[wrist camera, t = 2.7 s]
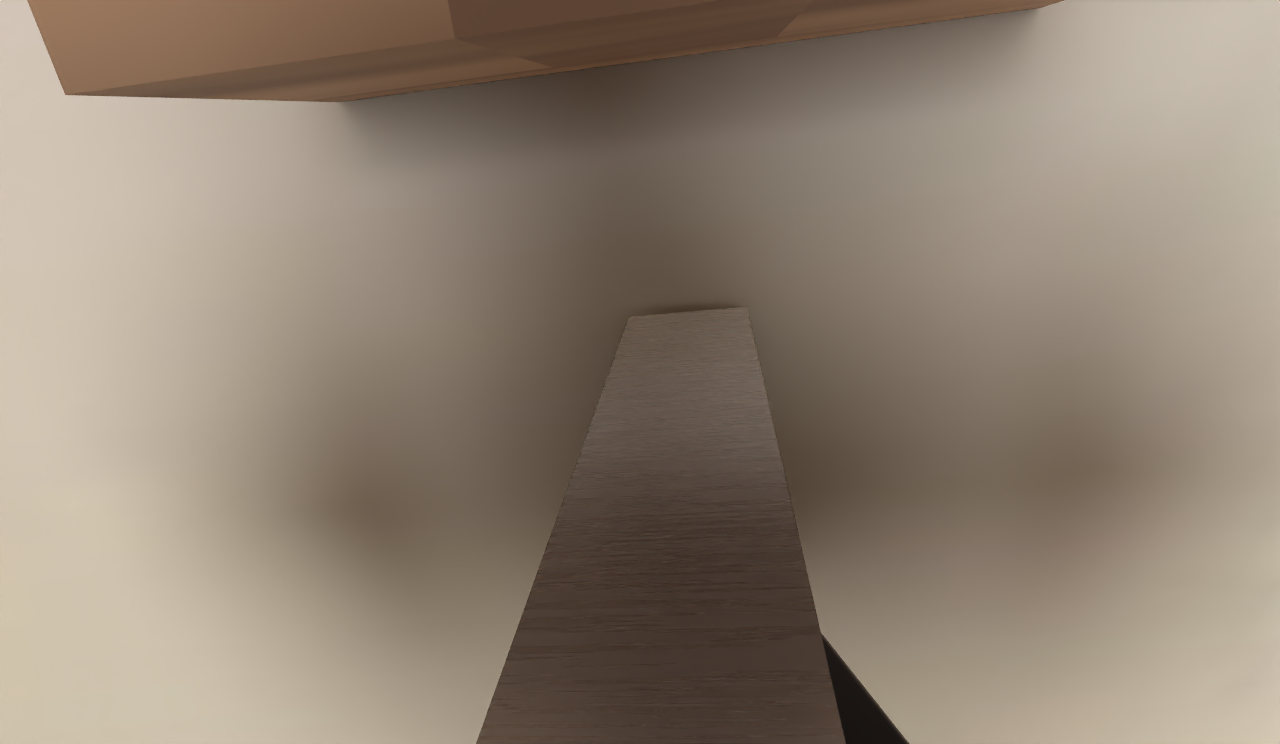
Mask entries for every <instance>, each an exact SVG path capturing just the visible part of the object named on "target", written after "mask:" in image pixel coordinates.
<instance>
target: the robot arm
mask: <svg viewBox="0 0 1280 744" xmlns="http://www.w3.org/2000/svg"><path fill="white" fill-rule="evenodd" d="M821 636H822V641H823V645H824V650H825V654H826V658H827V663H828V667H829V672H830V676H831V681H832V685H833V689H834V694H835V698H836V703H837V707H838V711H839V716H840V720H841V725H842V729H843V734H844V738H845V742H846V744H909V743H908V742H907V740H906V739H905V738H904V737H903V735H902V734H901V733H900V732H899V730H898V729H897V728H896V726H895V725H894V724H893V723H892V721H891V720H890V719H889V718H888V716H887V715H886V714H885V713H884V711H883V710H882V709H881V708H880V706H879V705H878V704H877V703H876V701H875V700H874V699H873V698H872V696H871V695H870V694H869V692H868V691H867V690H866V689H865V687H864V686H863V685H862V684H861V682H860V681H859V680H858V679H857V677H856V676H855V675H854V674H853V672H852V671H851V670H850V669H849V667H848V666H847V665H846V664H845V662H844V661H843V660H842V658H841V657H840V656H839V655H838V653H837V652H836V651H835V650H834V648H833V647H832V646H831V645H830V643H829V642H828V641H827V640H826V638H825V637H824V636H823V635H822V634H821Z"/></svg>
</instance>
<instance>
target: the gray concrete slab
mask: <svg viewBox="0 0 1280 744" xmlns="http://www.w3.org/2000/svg"><path fill="white" fill-rule="evenodd" d="M476 744H846V742H845V738H844V734H843V729H842V725H841V720H840V716H839V711H838V707H837V703H836V698H835V694H834V689H833V685H832V681H831V676H830V672H829V667H828V663H827V658H826V654H825V650H824V645H823V641H822V636H821V632H820V628H819V623H818V619H817V614H816V610H815V606H814V601H813V597H812V592H811V588H810V583H809V579H808V575H807V570H806V566H805V561H804V557H803V553H802V548H801V544H800V539H799V535H798V530H797V526H796V522H795V517H794V513H793V508H792V504H791V500H790V495H789V491H788V486H787V482H786V478H785V473H784V469H783V464H782V460H781V455H780V451H779V447H778V442H777V438H776V433H775V429H774V425H773V420H772V416H771V411H770V407H769V402H768V398H767V394H766V389H765V385H764V380H763V376H762V372H761V367H760V363H759V358H758V354H757V350H756V345H755V341H754V336H753V332H752V327H751V323H750V319H749V314H748V310H747V307H737V308H725V309H713V310H701V311H690V312H678V313H666V314H654V315H643V316H631V317H629V318H628V321H627V324H626V326H625V329H624V332H623V335H622V338H621V340H620V343H619V346H618V349H617V352H616V354H615V357H614V360H613V363H612V366H611V368H610V371H609V374H608V377H607V380H606V382H605V385H604V388H603V391H602V393H601V396H600V399H599V402H598V405H597V407H596V410H595V413H594V416H593V419H592V421H591V424H590V427H589V430H588V433H587V435H586V438H585V441H584V444H583V447H582V449H581V452H580V455H579V458H578V461H577V463H576V466H575V469H574V472H573V475H572V477H571V480H570V483H569V486H568V488H567V491H566V494H565V497H564V500H563V502H562V505H561V508H560V511H559V514H558V516H557V519H556V522H555V525H554V528H553V530H552V533H551V536H550V539H549V542H548V544H547V547H546V550H545V553H544V556H543V558H542V561H541V564H540V567H539V570H538V572H537V575H536V578H535V581H534V583H533V586H532V589H531V592H530V595H529V597H528V600H527V603H526V606H525V609H524V611H523V614H522V617H521V620H520V623H519V625H518V628H517V631H516V634H515V637H514V639H513V642H512V645H511V648H510V651H509V653H508V656H507V659H506V662H505V665H504V667H503V670H502V673H501V676H500V678H499V681H498V684H497V687H496V690H495V692H494V695H493V698H492V701H491V704H490V706H489V709H488V712H487V715H486V718H485V720H484V723H483V726H482V729H481V732H480V734H479V737H478V740H477V743H476Z"/></svg>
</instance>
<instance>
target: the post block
mask: <svg viewBox="0 0 1280 744" xmlns="http://www.w3.org/2000/svg"><path fill="white" fill-rule="evenodd" d="M27 1H28V3H29V6H30V8H31V11H32V13H33V16H34V18H35V21H36V23H37V26H38V28H39V30H40V33H41V35H42V38H43V40H44V43H45V45H46V48H47V50H48V53H49V55H50V58H51V60H52V63H53V65H54V68H55V70H56V73H57V75H58V78H59V80H60V83H61V85H62V88H63V90H64V93H65V95H87V96H126V97H164V98H203V99H241V100H279V101H318V102H342V101H349V100H357V99H364V98H372V97H379V96H386V95H394V94H401V93H409V92H416V91H424V90H431V89H439V88H446V87H453V86H461V85H468V84H476V83H483V82H491V81H498V80H505V79H513V78H520V77H528V76H535V75H543V74H550V73H557V72H565V71H572V70H580V69H587V68H595V67H602V66H609V65H617V64H624V63H632V62H639V61H647V60H654V59H662V58H669V57H676V56H684V55H691V54H699V53H706V52H714V51H721V50H728V49H736V48H743V47H751V46H758V45H766V44H773V43H780V42H788V41H795V40H803V39H810V38H818V37H825V36H832V35H840V34H847V33H855V32H862V31H870V30H877V29H885V28H892V27H899V26H907V25H914V24H922V23H929V22H937V21H944V20H951V19H959V18H966V17H974V16H981V15H989V14H996V13H1003V12H1011V11H1018V10H1026V9H1033V8H1041V7H1044V6H1047V5H1051V4H1054V3H1057V2H1061V1H1064V0H27Z"/></svg>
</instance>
